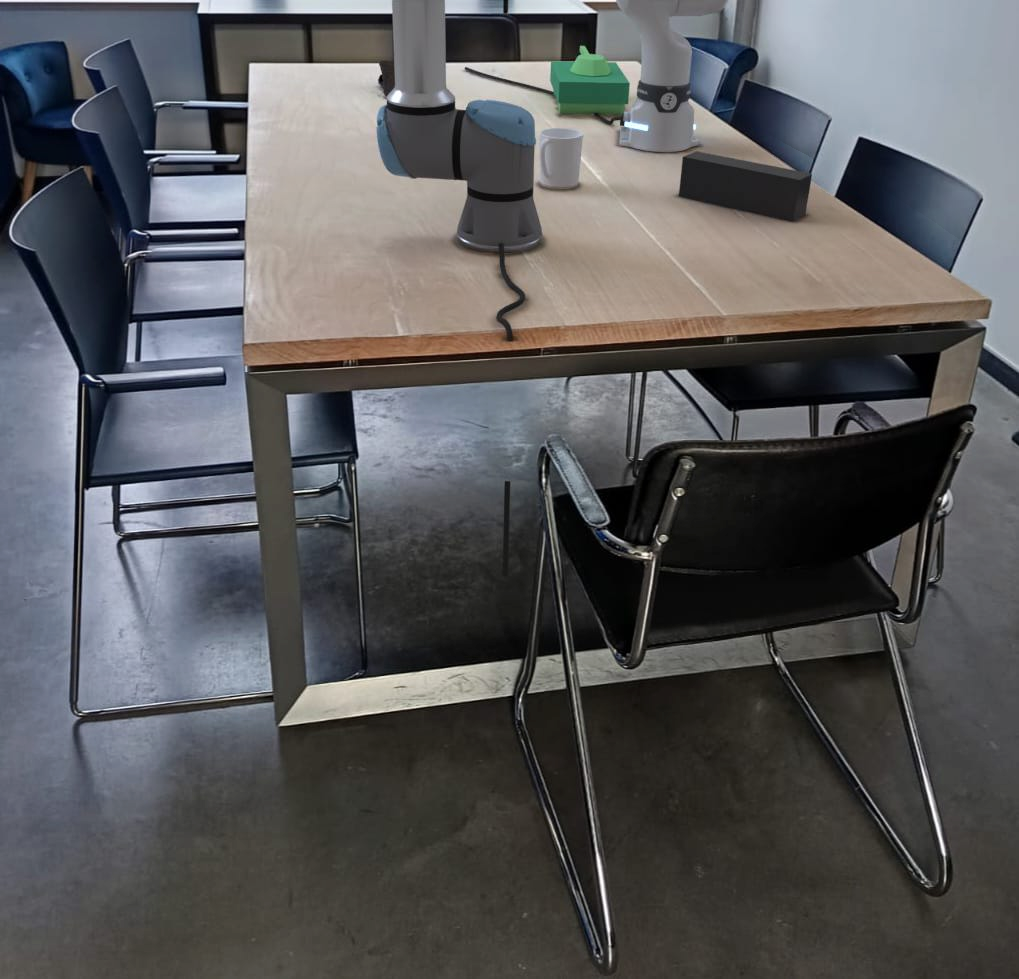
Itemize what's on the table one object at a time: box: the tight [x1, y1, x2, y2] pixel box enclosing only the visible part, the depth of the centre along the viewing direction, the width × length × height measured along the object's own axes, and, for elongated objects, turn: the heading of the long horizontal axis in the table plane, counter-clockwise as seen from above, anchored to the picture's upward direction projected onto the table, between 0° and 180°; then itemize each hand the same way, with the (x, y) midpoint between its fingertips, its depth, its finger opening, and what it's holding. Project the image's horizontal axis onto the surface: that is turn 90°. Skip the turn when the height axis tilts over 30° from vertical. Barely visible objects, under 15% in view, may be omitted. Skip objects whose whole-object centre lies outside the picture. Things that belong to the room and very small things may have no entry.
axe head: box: [377, 59, 395, 97], centre depth 299 cm, size 18×8×15 cm
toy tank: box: [549, 45, 631, 116], centre depth 289 cm, size 18×12×35 cm
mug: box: [538, 127, 584, 190], centre depth 223 cm, size 11×9×10 cm
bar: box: [678, 151, 813, 222], centre depth 215 cm, size 25×6×8 cm, turn 53°
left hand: (472, 11), depth 222 cm, fingers open, 13 cm apart
